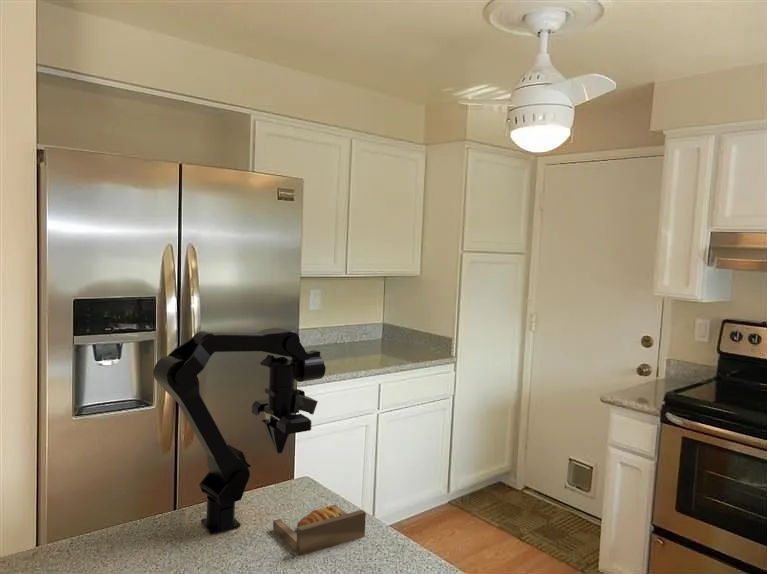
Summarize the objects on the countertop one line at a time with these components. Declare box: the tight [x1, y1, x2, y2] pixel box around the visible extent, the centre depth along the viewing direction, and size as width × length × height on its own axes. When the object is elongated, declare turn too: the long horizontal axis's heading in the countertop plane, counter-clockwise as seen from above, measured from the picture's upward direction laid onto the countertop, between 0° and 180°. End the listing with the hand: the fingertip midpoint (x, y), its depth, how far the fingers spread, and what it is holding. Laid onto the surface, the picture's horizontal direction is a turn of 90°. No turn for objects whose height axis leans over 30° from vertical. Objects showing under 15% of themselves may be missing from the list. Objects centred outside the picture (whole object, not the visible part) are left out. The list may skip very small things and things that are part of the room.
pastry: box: [296, 505, 339, 528], centre depth 124 cm, size 9×7×4 cm
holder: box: [272, 504, 367, 556], centre depth 121 cm, size 12×15×5 cm
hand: (279, 452), depth 132 cm, fingers closed
